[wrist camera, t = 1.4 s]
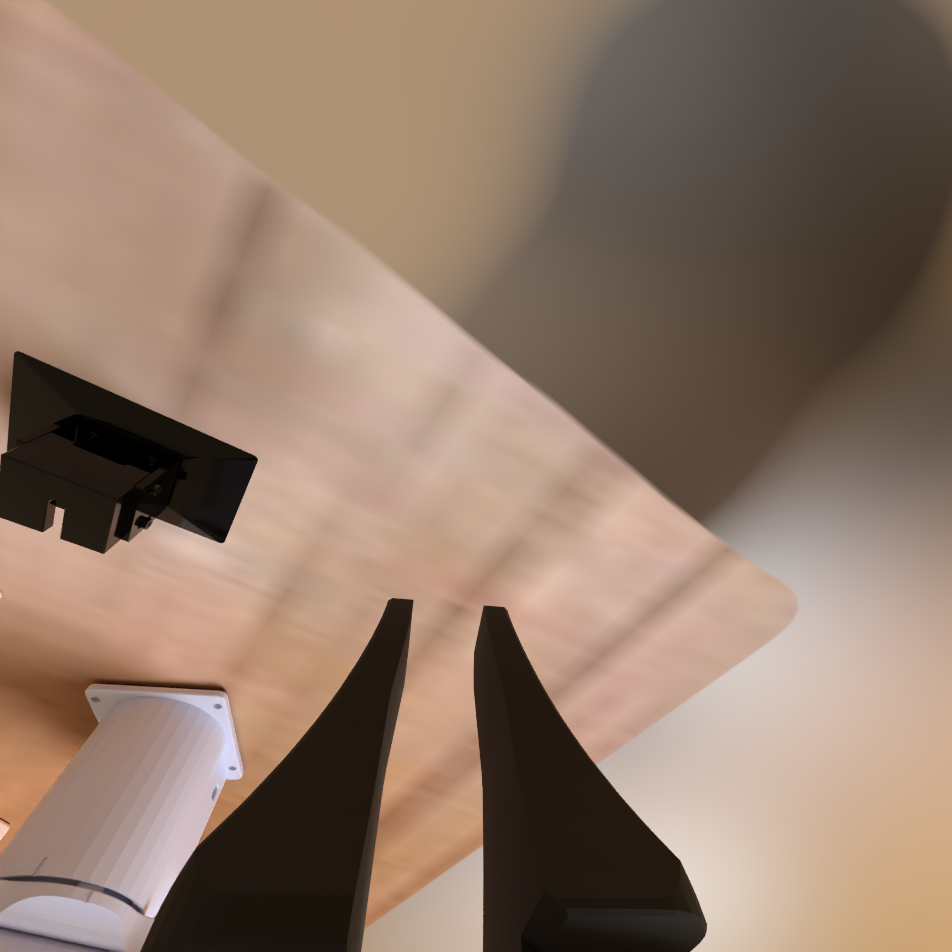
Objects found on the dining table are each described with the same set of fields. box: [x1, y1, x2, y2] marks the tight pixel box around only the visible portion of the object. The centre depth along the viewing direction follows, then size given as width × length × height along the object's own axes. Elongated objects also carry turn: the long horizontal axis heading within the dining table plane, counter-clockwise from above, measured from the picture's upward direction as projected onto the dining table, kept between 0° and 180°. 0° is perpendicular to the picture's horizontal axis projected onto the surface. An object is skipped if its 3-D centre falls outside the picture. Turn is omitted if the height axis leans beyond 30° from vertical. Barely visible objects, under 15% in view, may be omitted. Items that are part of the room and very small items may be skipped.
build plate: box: [0, 351, 258, 554], centre depth 17 cm, size 12×7×5 cm, turn 59°
